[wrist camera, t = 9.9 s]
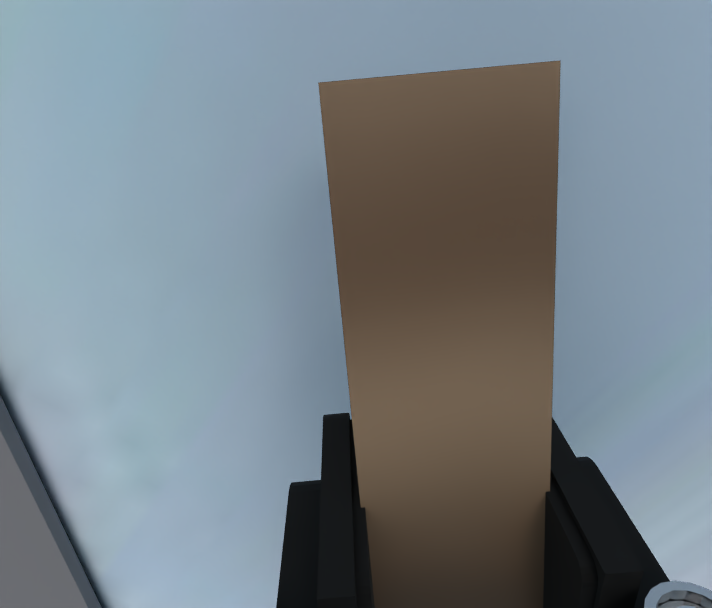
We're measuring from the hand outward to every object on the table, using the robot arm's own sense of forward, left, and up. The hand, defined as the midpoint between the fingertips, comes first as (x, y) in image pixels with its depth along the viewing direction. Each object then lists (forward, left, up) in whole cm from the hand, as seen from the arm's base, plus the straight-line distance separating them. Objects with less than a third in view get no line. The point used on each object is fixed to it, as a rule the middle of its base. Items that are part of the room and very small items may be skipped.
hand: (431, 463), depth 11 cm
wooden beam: (+2, 0, -1) cm, 2 cm away
